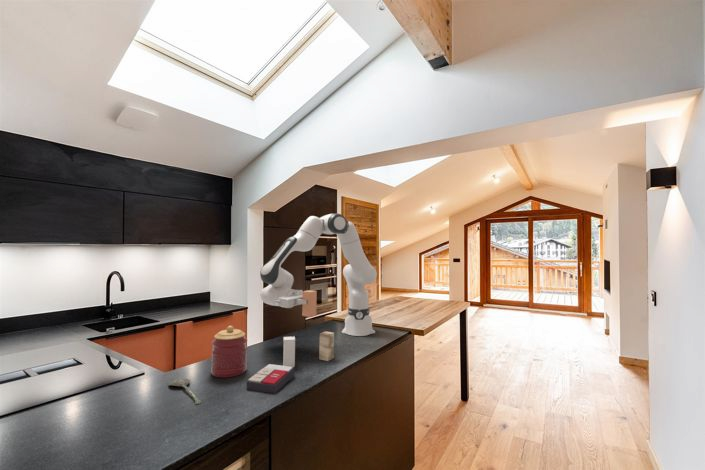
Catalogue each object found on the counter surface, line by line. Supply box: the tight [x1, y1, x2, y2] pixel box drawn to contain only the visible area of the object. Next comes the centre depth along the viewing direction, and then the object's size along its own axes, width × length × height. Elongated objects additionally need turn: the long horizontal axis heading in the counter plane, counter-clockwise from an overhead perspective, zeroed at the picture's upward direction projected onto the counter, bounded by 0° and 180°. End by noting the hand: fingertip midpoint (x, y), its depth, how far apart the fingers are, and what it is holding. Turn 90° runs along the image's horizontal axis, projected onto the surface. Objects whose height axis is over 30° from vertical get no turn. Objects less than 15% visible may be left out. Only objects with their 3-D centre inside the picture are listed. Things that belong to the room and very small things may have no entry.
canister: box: [210, 325, 248, 379], centre depth 128 cm, size 13×13×18 cm
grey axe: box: [168, 377, 202, 405], centre depth 110 cm, size 22×3×7 cm
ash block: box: [318, 331, 335, 362], centre depth 144 cm, size 4×4×11 cm
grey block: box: [282, 335, 296, 368], centre depth 136 cm, size 4×4×11 cm
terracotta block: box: [301, 289, 318, 318], centre depth 150 cm, size 4×4×11 cm
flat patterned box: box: [246, 363, 295, 394], centre depth 119 cm, size 11×4×15 cm
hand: (311, 301), depth 150 cm, fingers closed on terracotta block, 4 cm apart
